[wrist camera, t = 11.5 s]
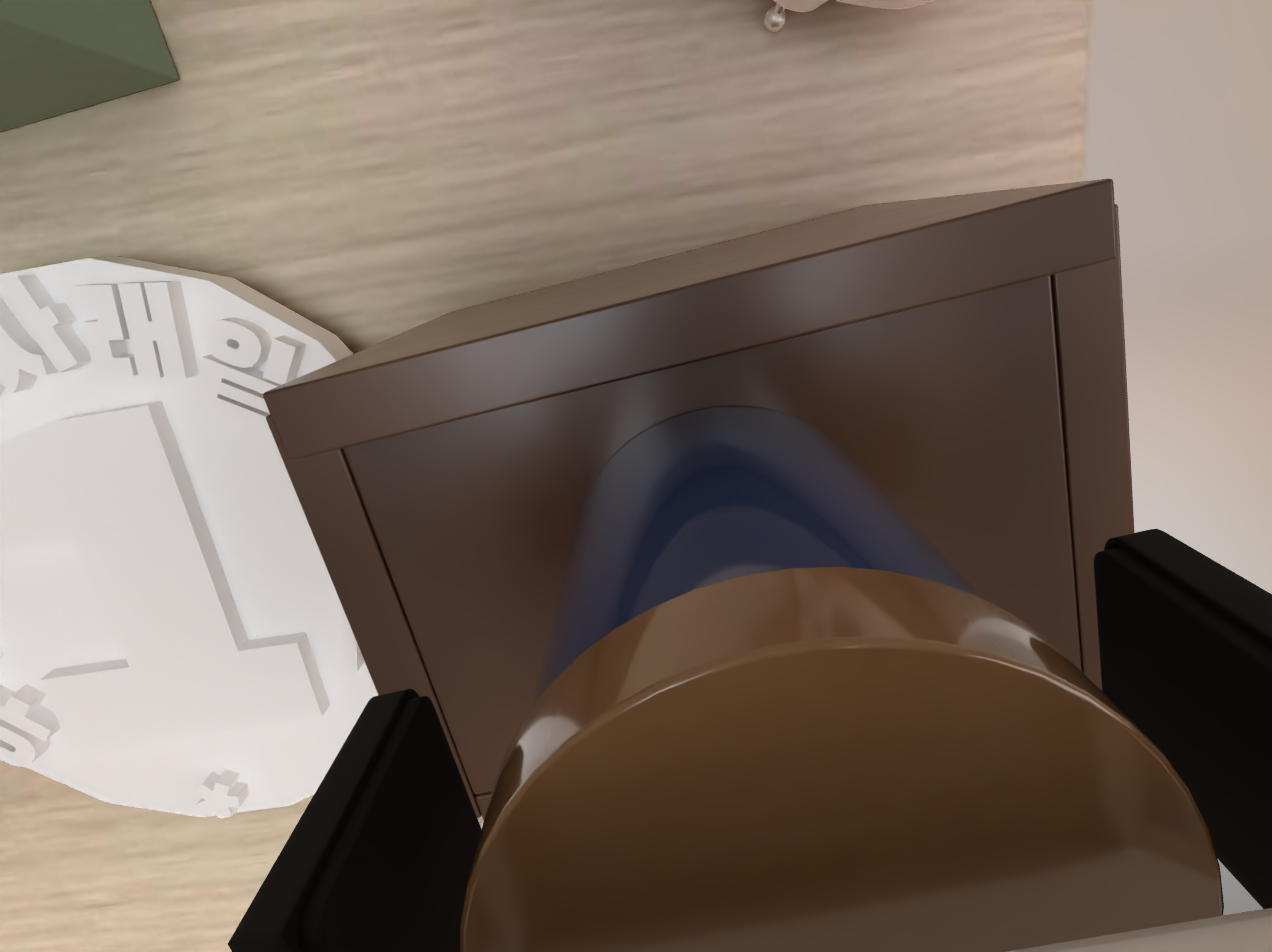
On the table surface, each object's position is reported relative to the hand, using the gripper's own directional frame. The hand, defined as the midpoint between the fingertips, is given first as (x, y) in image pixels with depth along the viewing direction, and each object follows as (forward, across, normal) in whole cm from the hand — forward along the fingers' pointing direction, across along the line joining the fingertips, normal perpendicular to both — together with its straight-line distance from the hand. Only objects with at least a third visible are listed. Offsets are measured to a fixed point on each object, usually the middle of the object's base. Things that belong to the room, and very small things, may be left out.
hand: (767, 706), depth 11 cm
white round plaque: (+16, +18, 0) cm, 25 cm away
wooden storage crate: (+16, 0, +5) cm, 17 cm away
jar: (+5, 0, 0) cm, 5 cm away
